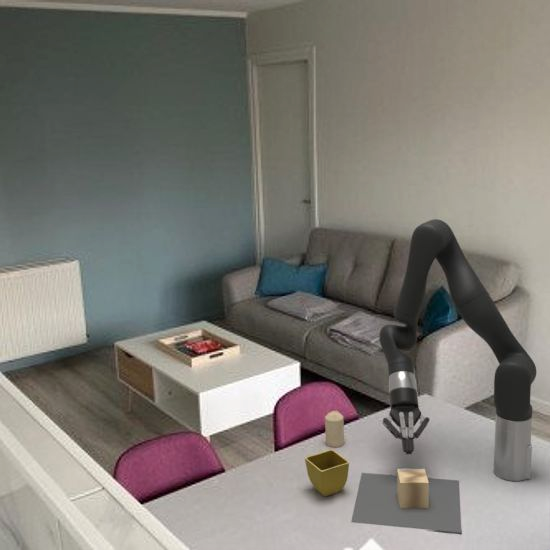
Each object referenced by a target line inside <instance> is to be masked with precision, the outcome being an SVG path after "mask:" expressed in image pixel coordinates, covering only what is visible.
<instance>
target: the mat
mask: <svg viewBox="0 0 550 550" xmlns="http://www.w3.org/2000/svg"><path fill="white" fill-rule="evenodd" d="M427 478H428V482H429V507H428V508H400V504H399V500H398V495H397V474H395V475H394V474H381V473H371V472H370V473H369V472H361V476H360V480H359V484H358V489H357V494H356V498H355V503H354V507H353V512H352V517H351V521H350V522H351V523H354V524H355V523H356V524H357V523H358V524H366V525H374V526H375V525H377V526H386V527H387V526H388V527H398V528H408V529H418V530H426V531H433V532H435V533H436V532H437V533H445V534H454V535H455V534H458V535H462V516H461V515H462V514H461V497H460V496H461V495H460V480H457V479H444V478H443V479H442V478H430V477H427Z"/></svg>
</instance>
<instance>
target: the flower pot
mask: <svg viewBox="0 0 550 550" xmlns="http://www.w3.org/2000/svg"><path fill="white" fill-rule="evenodd" d="M304 461H305V469H306V472H307V476H308V478H309V481H310V483H311V484H312V486H313V487H314V489H315V490H317V492H319V493H320V494H321V495H322V497H328V496H331V495H334V494H336V493H339V492H342V490H343V489H344V487H345V485H346V484H347V481H348V478H349V477H348V476H349V468H350V467H349V466H350V461H349V460H347V459H346V458H344V457H343V456H342V455H341V454H339V453H338V452H336V451H335V450H334V449H329V450H325V451H322V452H319V453H315V454H312V455H309V456H306V457H304Z"/></svg>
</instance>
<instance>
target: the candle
mask: <svg viewBox="0 0 550 550" xmlns="http://www.w3.org/2000/svg"><path fill="white" fill-rule="evenodd" d="M324 420H325V423H324V424H325V426H324V427H325V428H324V429H325V445H326V446H328V447H331V448H339V447H341V446H343V445H344V444H345V430H344V429H345V427H344V424H345V423H344V415H343V414H341V412H339V411H338V410H332V411H330V412H328V413H327V414H326V415H325V417H324Z"/></svg>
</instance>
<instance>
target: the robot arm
mask: <svg viewBox="0 0 550 550" xmlns="http://www.w3.org/2000/svg"><path fill="white" fill-rule="evenodd" d="M435 260H436V261H437V263H438V264H439V266H440V267H441V269H442V271H443V273H444V275H445V279H446V283H447V286H448V290H449V291H448V292H449V295H450V297H451V300H452V303H453V305H454V307H455V308H456V310H457V312H458V314H459V315H460V316H461V318H462V320H463V321H464V323H465V324H466V325H467V326H468V327H469V329H471V330H472V332H474V333H475V334H477V335H478V336H479V337H480V338H481V339H482V340H483V341H484V342H485V343H486V344H487V345H488V346H489V348H490V349H491V351H492V352H493V354H494V356H495V358H496V360H497V361H498V364H499V365H498V366H497V368H496V369H495V372H494V378H493V401H494V402H493V403H494V406H495V424H494V425H495V426H494V427H495V428H494V449H493V450H494V451H493V452H494V453H493V473H494V474H495V475H496V476H497V477H499V478H500V479H503V480H506V481H512V482H520V481H525V480H531V477H532V476H531V475H532V473H531V472H532V454H533V453H532V452H533V447H532V428H533V427H532V426H533V425H532V424H533V406H532V404H531V389H532V384H533V382H534V381H535V379H536V377H537V367H536V364H535V362H534V361H533V359H532V357H531V356H530V355H529V353H528V352H527V351H526V350H525V348H524V347H523V346H522V344H521V343H520V342H519V341H518V339H517V338H516V336H515V335H514V334H513V331H511V329H510V328H509V325H508V324H507V322H506V321H505V319H504V317H503V315H502V313H501V312H500V311H499V310H500V309H498V307H497V306H496V304H495V302H494V300H493V299H492V297H491V295H490V293H489V292H488V291H487V289H486V288H485V286H484V284H483V283H482V281H481V280H480V278H479V276H478V275H477V273H476V272H475V270H474V268H472V267H473V266H472V265H471V264H470V263H469V261H468V259H467V258H466V256H465V254H464V253H463V250H462V248H461V246H460V244H459V242H458V240H457V238H456V236H455V233H454V231H453V230H452V228H451V227H450V225H449V224H448V223H446V222H445V221H443V220H441V219H435V218H434V219H431V220H430V219H429V220H427V221H425V222H423V223H421V224H419V225H418V226H417V227H415V229H414V230H413V232H412V235H411V239H410V247H409V253H408V260H407V265H406V270H405V274H404V278H403V282H402V286H401V288H400V291H399V295H398V298H397V301H396V303H395V307H394V309H393V316H394V318H395V319H396V320H397V321H399V322H401V323H403V324H405V326H404V325H396V324H385V325H383V326H382V327H381V329H380V331H379V336H378V337H379V338H378V339H379V343H380V346H381V350H382V351H383V354H384V357H385V360H386V362H387V370H388V393H389V404H390V411H389V415H388V416H386V417H384V418H383V419H382V424H383V426H384V427H385V428H386V429H387V430H388V431H389V433H391V435H392V437H394V438H395V439H399V440H401V445H402V451H403V453H405V455H412V453H414V449H415V445H414V443H415V442H414V440H415V439H418V438H419V437H421V434H422V433H423V432H424V430H425V429H426V428H427V426H428V424H429V422H430V418H429V417H428V416H427V417H426V416H424V415H422V411H421V410H420V407H419V397H418V389H417V381H416V377H415V368H414V360H413V358H412V356H411V355H409V354H406V353H404V352H410V351H411V350H413V349H414V348H415V347H416V344H417V342H418V341H417V340H418V322H419V316H420V313H421V312H422V311H421V310H422V308H423V304H424V301H425V298H426V291H427V282H428V281H427V280H428V276H429V272H430V270H431V267H432V265H433V263H434V261H435ZM402 351H403V352H402ZM418 421H419V424H420V425H419V427H418V428H417V429H416V431H414V427H415V426H416V424H417V423H418ZM393 423H394V425H393ZM395 425H396V426H397V427H399V430H398V429H397V427H395ZM406 428H407V429H406Z"/></svg>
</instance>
